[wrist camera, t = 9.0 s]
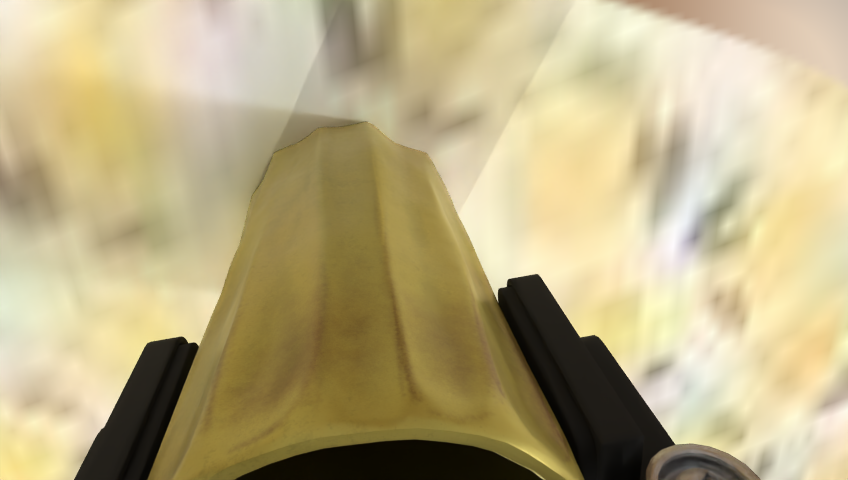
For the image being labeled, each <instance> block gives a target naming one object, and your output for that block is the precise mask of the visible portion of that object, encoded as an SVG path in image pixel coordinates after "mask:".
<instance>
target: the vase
mask: <svg viewBox="0 0 848 480" xmlns="http://www.w3.org/2000/svg"><path fill="white" fill-rule="evenodd" d="M147 480H585V479H584V477H583V475H582V473H581V471H580V469H579V466H578V464H577V462H576V460H575V458H574V455H573V453H572V451H571V448H570V446H569V444H568V441H567V439H566V437H565V435H564V433H563V431H562V429H561V427H560V425H559V423H558V421H557V419H556V417H555V415H554V413H553V411H552V409H551V407H550V405H549V404H548V402H547V400H546V398H545V396H544V394H543V392H542V390H541V388H540V386H539V384H538V382H537V380H536V378H535V376H534V375H533V373H532V371H531V369H530V367H529V365H528V363H527V361H526V359H525V357H524V355H523V353H522V351H521V349H520V347H519V345H518V343H517V341H516V339H515V337H514V335H513V333H512V331H511V329H510V327H509V325H508V323H507V321H506V319H505V317H504V314H503V312H502V310H501V308H500V306H499V304H498V302H497V299H496V297H495V295H494V293H493V290H492V288H491V286H490V284H489V281H488V279H487V277H486V275H485V273H484V270H483V268H482V266H481V264H480V261H479V259H478V257H477V255H476V252H475V250H474V247H473V245H472V243H471V241H470V238H469V236H468V234H467V232H466V230H465V228H464V226H463V224H462V222H461V220H460V219H459V217H458V214H457V212H456V210H455V208H454V205H453V202H452V200H451V198H450V195H449V193H448V191H447V189H446V187H445V185H444V183H443V181H442V179H441V177H440V175H439V174H438V172H437V170H436V168H435V166H434V164H433V162H432V160H431V159H430V157H429V156H428V154H427V153H424V152H422V151H418V150H415V149H411V148H407V147H405V146H402V145H399V144H396V143H394V142H393V141H392V140H391V139H389V138H388V137H387V136H386V135H384V134H383V133H382V132H381V131H380V130H379V129H378V128H376V127H375V126H374V125H373V124H371V123H368V122H362V123H357V124H353V125H348V126H343V127H322V128H317V129H316V130H315V131H314V132H312V133H311V134H310V135H309V136H307V137H306V138H304V139H303V140H301V141H300V142H298V143H297V144H294V145H291V146H288V147H285V148H283V149H281V150H279V151H277V152H275V153H274V154H273V156H272V159H271V162H270V164H269V167H268V169H267V172H266V174H265V176H264V179H263V181H262V182H261V184H260V185H259V186H258V188H257V189H256V191H255V192H254V193H253V195H252V198H251V201H250V205H249V208H248V212H247V216H246V220H245V224H244V229H243V233H242V237H241V240H240V244H239V247H238V249H237V251H236V253H235V256H234V258H233V261H232V263H231V266H230V268H229V271H228V274H227V277H226V280H225V284H224V287H223V290H222V293H221V295H220V298H219V300H218V302H217V304H216V307H215V309H214V311H213V314H212V316H211V319H210V321H209V324H208V326H207V329H206V331H205V334H204V336H203V339H202V341H201V344H200V346H199V348H198V351H197V353H196V356H195V358H194V361H193V364H192V366H191V369H190V371H189V374H188V376H187V379H186V381H185V384H184V387H183V389H182V392H181V394H180V397H179V400H178V402H177V405H176V407H175V410H174V412H173V415H172V418H171V420H170V423H169V425H168V428H167V430H166V433H165V436H164V438H163V441H162V443H161V446H160V449H159V451H158V454H157V456H156V459H155V462H154V464H153V467H152V469H151V472H150V474H149V477H148V479H147Z"/></svg>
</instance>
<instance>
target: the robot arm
mask: <svg viewBox="0 0 848 480" xmlns="http://www.w3.org/2000/svg"><path fill="white" fill-rule="evenodd" d="M498 303H499V306H500V308H501V310H502V312H503V314H504V317H505V319H506V321H507V323H508V325H509V327H510V329H511V331H512V333H513V335H514V337H515V339H516V341H517V343H518V345H519V347H520V349H521V351H522V353H523V355H524V357H525V359H526V361H527V363H528V365H529V367H530V369H531V371H532V373H533V375H534V376H535V378H536V380H537V382H538V384H539V386H540V388H541V390H542V392H543V394H544V396H545V398H546V400H547V402H548V404H549V405H550V407H551V409H552V411H553V413H554V415H555V417H556V419H557V421H558V423H559V425H560V427H561V429H562V431H563V433H564V435H565V437H566V439H567V441H568V444H569V446H570V448H571V451H572V453H573V455H574V458H575V460H576V462H577V464H578V466H579V469H580V471H581V473H582V475H583V477H584V479H585V480H760V478H759V477H758V476H757V475H756V474H755V473H754V472H753V471H752V470H751V469H750V468H749V467H748V466H747V465H746V464H744V463H743V462H741V461H739V460H738V459H736V458H735V457H733V456H731V455H730V454H728V453H725V452H723V451H720V450H718V449H715V448H712V447H709V446H703V445H697V444H680V445H675V444H674V442H673V441H672V439H671V438H670V436H669V435H668V434H667V432H666V431H665V429H664V428H663V427H662V425H661V424H660V422H659V421H658V419H657V418H656V417H655V415H654V414H653V412H652V411H651V410H650V408H649V407H648V405H647V404H646V402H645V401H644V400H643V398H642V397H641V395H640V394H639V393H638V391H637V390H636V388H635V387H634V385H633V384H632V383H631V381H630V380H629V378H628V377H627V376H626V374H625V373H624V371H623V370H622V368H621V367H620V366H619V364H618V363H617V361H616V360H615V359H614V357H613V356H612V354H611V353H610V351H609V350H608V349H607V347H606V346H605V344H604V343H603V342H602V341H601V339H600V338H599V337H597V336H595V335H592V336H587V337H581V338H580V337H579V335H578V334H577V332H576V331H575V329H574V328H573V326H572V325H571V323H570V321H569V320H568V318H567V317H566V315H565V314H564V312H563V311H562V309H561V308H560V306H559V305H558V303H557V302H556V300H555V298H554V297H553V295H552V294H551V292H550V291H549V289H548V288H547V286H546V285H545V283H544V282H543V280H542V279H541V277H540V276H539V275H538V274H535V275H529V276H523V277H518V278H512V279H508V281H507V287H505V288H500V289H499V290H498ZM198 348H199V346H198V345H197V344H196V343H188V342H187V340H186V339H185V338H184V337H176V338H170V339H165V340H159V341H153V342H149V343H147V345H146V346H145V348H144V350H143V352H142V354H141V356H140V358H139V360H138V362H137V364H136V366H135V368H134V370H133V372H132V374H131V376H130V378H129V380H128V381H127V383H126V385H125V387H124V389H123V391H122V393H121V395H120V397H119V399H118V401H117V403H116V405H115V407H114V409H113V411H112V413H111V415H110V417H109V419H108V421H107V423H106V425H105V427H104V428H103V429H101V431H100V432H99V433H98V435H97V436H96V438H95V440H94V442H93V444H92V446H91V448H90V450H89V452H88V454H87V456H86V458H85V459H84V461H83V463H82V465H81V467H80V469H79V471H78V473H77V475H76V477H75V479H74V480H147V479H148V477H149V474H150V472H151V469H152V467H153V464H154V462H155V459H156V456H157V454H158V451H159V449H160V446H161V443H162V441H163V438H164V436H165V433H166V430H167V428H168V425H169V423H170V420H171V418H172V415H173V412H174V410H175V407H176V405H177V402H178V400H179V397H180V394H181V392H182V389H183V387H184V384H185V381H186V379H187V376H188V374H189V371H190V369H191V366H192V364H193V361H194V358H195V356H196V353H197V351H198Z"/></svg>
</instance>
